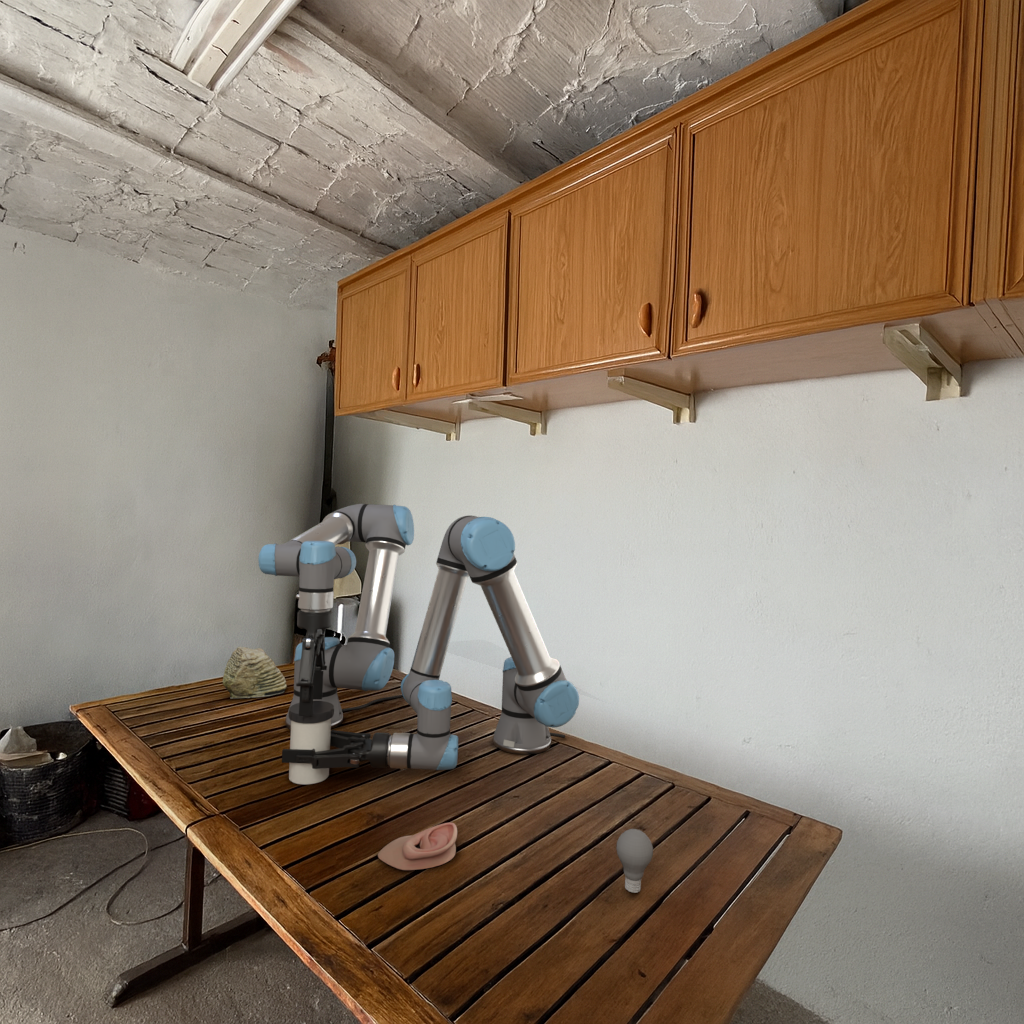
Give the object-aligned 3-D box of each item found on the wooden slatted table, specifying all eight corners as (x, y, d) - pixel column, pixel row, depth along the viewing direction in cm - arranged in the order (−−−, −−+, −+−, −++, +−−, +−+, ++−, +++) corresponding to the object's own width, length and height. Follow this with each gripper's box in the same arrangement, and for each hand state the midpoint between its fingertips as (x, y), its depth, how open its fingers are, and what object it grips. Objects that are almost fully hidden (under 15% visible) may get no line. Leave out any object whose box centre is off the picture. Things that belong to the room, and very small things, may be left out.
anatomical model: (371, 842, 110) (396, 811, 121) (370, 865, 110) (395, 831, 121) (444, 854, 107) (463, 821, 118) (443, 877, 107) (462, 842, 118)
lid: (279, 719, 140) (279, 710, 140) (307, 706, 149) (307, 698, 149) (315, 726, 137) (315, 717, 137) (342, 712, 146) (342, 704, 146)
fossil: (218, 695, 195) (220, 647, 195) (278, 685, 208) (279, 640, 207) (228, 703, 189) (230, 653, 188) (289, 692, 201) (290, 645, 201)
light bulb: (610, 879, 108) (613, 822, 108) (644, 879, 109) (647, 822, 109) (619, 902, 102) (622, 840, 102) (655, 901, 103) (658, 840, 103)
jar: (280, 780, 141) (283, 712, 140) (305, 765, 149) (308, 701, 149) (312, 787, 138) (315, 718, 138) (336, 772, 146) (339, 706, 146)
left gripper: (308, 601, 154) (304, 691, 154) (285, 618, 130) (281, 724, 131) (340, 602, 155) (336, 691, 155) (323, 619, 131) (318, 724, 131)
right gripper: (381, 788, 133) (272, 785, 132) (396, 748, 155) (303, 745, 154) (382, 752, 133) (273, 749, 132) (397, 717, 154) (304, 714, 154)
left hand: (311, 706), depth 143 cm, fingers open, 11 cm apart
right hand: (289, 747), depth 143 cm, fingers closed on jar, 9 cm apart
